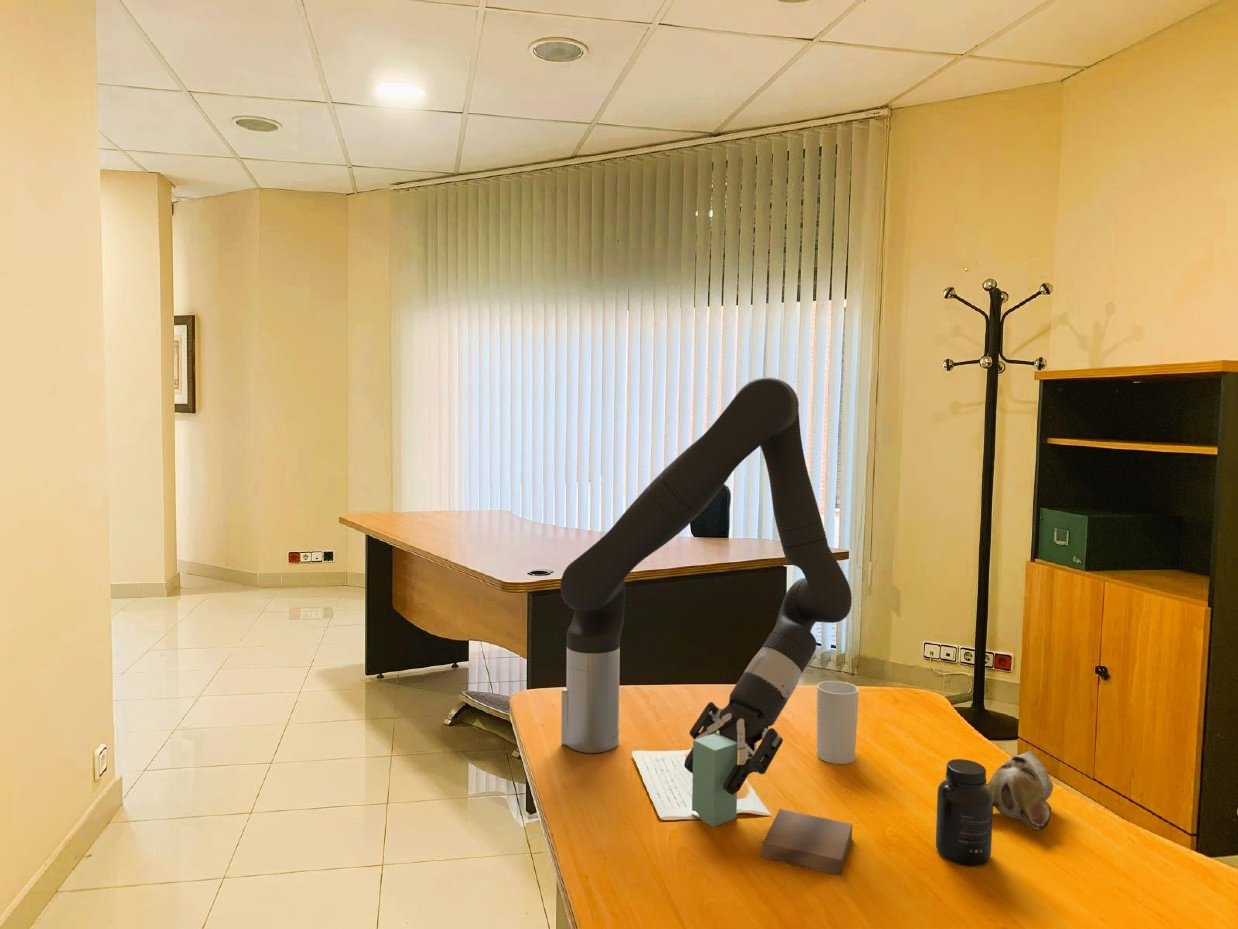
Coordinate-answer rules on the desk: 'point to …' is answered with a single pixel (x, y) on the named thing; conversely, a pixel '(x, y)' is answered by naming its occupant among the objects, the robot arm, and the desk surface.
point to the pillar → (713, 778)
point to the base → (808, 841)
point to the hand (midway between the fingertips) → (707, 780)
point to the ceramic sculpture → (1022, 790)
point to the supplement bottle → (964, 814)
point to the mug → (836, 721)
